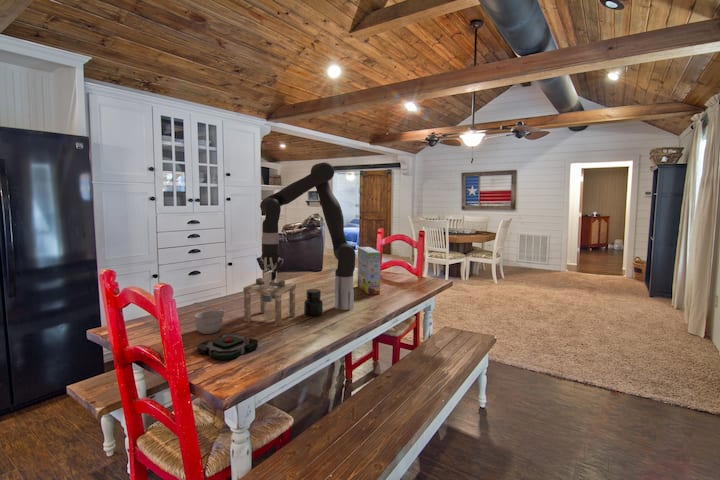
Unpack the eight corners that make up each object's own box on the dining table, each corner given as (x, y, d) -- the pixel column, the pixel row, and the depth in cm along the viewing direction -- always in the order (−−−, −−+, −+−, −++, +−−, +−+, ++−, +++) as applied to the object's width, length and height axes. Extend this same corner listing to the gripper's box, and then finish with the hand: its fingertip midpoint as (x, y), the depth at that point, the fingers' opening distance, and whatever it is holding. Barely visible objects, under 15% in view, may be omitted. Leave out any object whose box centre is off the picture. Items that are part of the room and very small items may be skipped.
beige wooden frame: (295, 316, 184) (295, 278, 181) (279, 326, 168) (279, 285, 166) (262, 311, 189) (262, 274, 187) (243, 321, 174) (243, 281, 171)
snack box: (356, 286, 245) (357, 246, 242) (368, 285, 248) (370, 246, 245) (366, 295, 225) (368, 252, 222) (380, 294, 227) (382, 251, 224)
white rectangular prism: (271, 297, 182) (271, 269, 180) (278, 297, 181) (278, 270, 179) (262, 301, 174) (262, 273, 173) (269, 302, 173) (269, 273, 172)
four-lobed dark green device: (192, 352, 141) (191, 340, 140) (231, 337, 156) (231, 326, 155) (224, 365, 131) (224, 352, 131) (263, 348, 147) (263, 336, 146)
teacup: (206, 338, 153) (205, 319, 152) (189, 332, 159) (189, 314, 158) (234, 328, 165) (234, 310, 164) (217, 323, 171) (217, 306, 170)
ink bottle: (315, 310, 193) (315, 287, 192) (326, 314, 187) (327, 290, 185) (299, 314, 186) (299, 290, 185) (310, 319, 180) (311, 294, 178)
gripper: (288, 242, 176) (287, 279, 178) (261, 240, 180) (261, 276, 182) (280, 244, 169) (280, 282, 171) (252, 242, 173) (252, 279, 175)
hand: (270, 279), depth 176 cm, fingers closed on white rectangular prism, 2 cm apart
